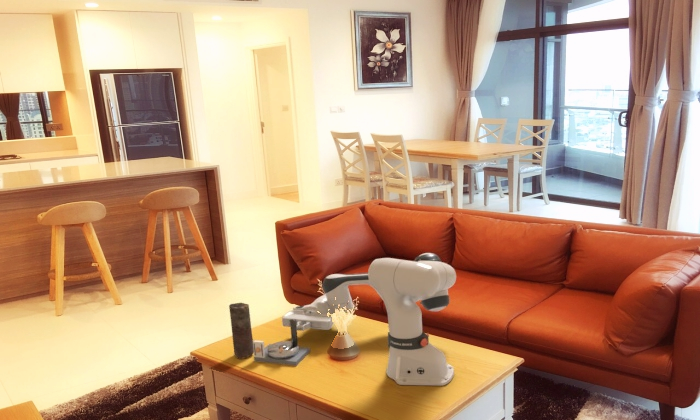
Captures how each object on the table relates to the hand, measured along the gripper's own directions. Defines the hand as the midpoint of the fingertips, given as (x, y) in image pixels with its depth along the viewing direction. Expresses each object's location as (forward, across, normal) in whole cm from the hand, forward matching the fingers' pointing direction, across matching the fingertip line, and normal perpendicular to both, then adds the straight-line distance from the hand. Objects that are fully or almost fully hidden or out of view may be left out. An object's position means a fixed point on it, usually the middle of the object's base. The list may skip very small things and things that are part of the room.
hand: (299, 328), depth 215 cm
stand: (+7, +4, -8) cm, 12 cm away
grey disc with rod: (+7, +4, -7) cm, 10 cm away
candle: (+9, +19, -8) cm, 23 cm away
